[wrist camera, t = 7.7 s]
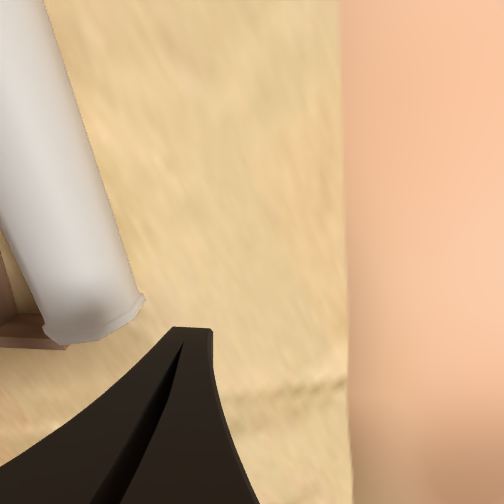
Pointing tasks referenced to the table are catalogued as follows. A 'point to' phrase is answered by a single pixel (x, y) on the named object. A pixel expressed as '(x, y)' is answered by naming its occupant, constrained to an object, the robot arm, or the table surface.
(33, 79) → the tube
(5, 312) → the bay
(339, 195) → the table surface
